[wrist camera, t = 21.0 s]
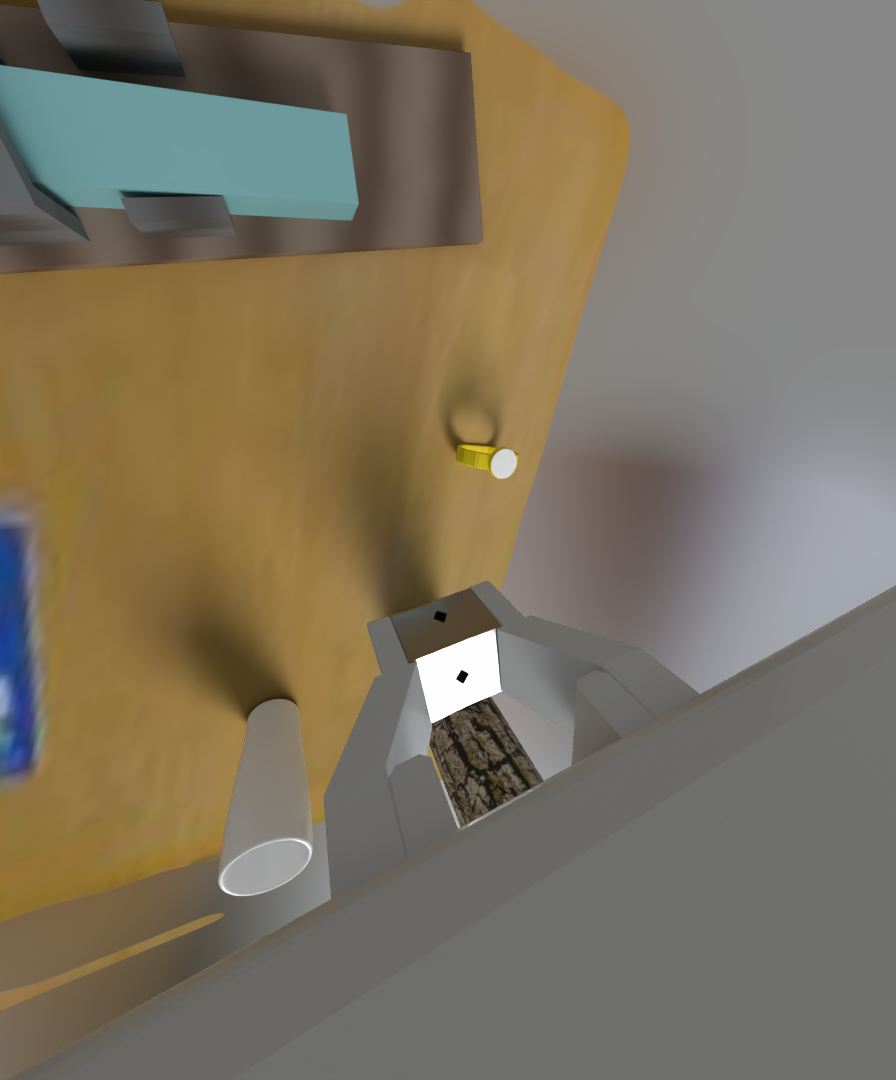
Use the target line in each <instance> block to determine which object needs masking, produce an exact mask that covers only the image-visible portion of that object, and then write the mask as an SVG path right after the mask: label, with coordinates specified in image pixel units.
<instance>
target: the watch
mask: <svg viewBox="0 0 896 1080" xmlns="http://www.w3.org/2000/svg"><path fill="white" fill-rule="evenodd" d="M518 457H519V454H518V453H516V452H513V451H512V450H511V449H508V448H505V447H499V448H497V447H491V446H480V445H467V444H462V445H458V446H457V454H456V461H457V462H459V463H461V464H464V465H467V466H471V467H475V468H476V467H477V468H481V469H487V470H488V471H489V472H490V474H491V475H492V476H494V477H496V478H499V479H503V478H507V477H508V476H510V475H511V474H512V473H513V471H514V470H515V469H516V467H517V462H518Z"/></svg>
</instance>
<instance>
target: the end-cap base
mask: <svg viewBox="0 0 896 1080" xmlns="http://www.w3.org/2000/svg"><path fill="white" fill-rule="evenodd" d="M37 2H38V4H39V7H40V9H39V8H29V7H20V6H10V5H0V65H3V66H10V67H17V68H24V69H32V70H39V71H46V72H53V73H60V74H67V75H74V76H81V77H88V78H95V79H102V80H109V81H116V82H123V83H131V84H138V85H145V86H152V87H159V88H166V89H173V90H180V91H187V92H194V93H201V94H208V95H215V96H222V97H229V98H237V99H244V100H251V101H258V102H265V103H272V104H279V105H286V106H293V107H300V108H307V109H314V110H321V111H328V112H336V113H343V114H347V122H348V129H349V136H350V144H351V151H352V158H353V166H354V173H355V180H356V188H357V195H358V202H359V204H358V207H357V209H356V211H355V214H354V216H353V219H352V221H350V220H330V219H310V218H291V217H271V216H252V215H232V214H230V213H229V211H228V208H227V205H226V203H225V200H224V197H223V196H200V197H141V198H121V200H122V203H123V205H124V208H125V209H114V208H95V207H75V206H60V205H59V204H57V203H56V202H55V201H53V200H52V199H51V198H49V197H48V196H47V195H45V194H44V193H42V192H41V191H40V190H38V189H37V188H36V187H34V186H33V184H32V182H31V180H30V178H29V176H28V174H27V172H26V170H25V168H24V166H23V164H22V162H21V160H20V158H19V156H18V154H17V152H16V150H15V148H14V146H13V144H12V142H11V140H10V138H9V136H8V134H7V132H6V130H5V128H4V126H3V124H2V122H1V120H0V274H5V273H21V272H37V271H53V270H69V269H85V268H101V267H117V266H133V265H149V264H165V263H181V262H197V261H213V260H230V259H246V258H262V257H278V256H294V255H310V254H326V253H342V252H358V251H374V250H390V249H406V248H422V247H438V246H454V245H471V244H478V243H480V242H481V241H483V232H482V217H481V202H480V187H479V172H478V157H477V142H476V127H475V112H474V97H473V82H472V67H471V53H469V52H459V51H449V50H440V49H430V48H420V47H410V46H401V45H391V44H381V43H371V42H361V41H352V40H342V39H332V38H322V37H313V36H303V35H293V34H283V33H274V32H264V31H254V30H244V29H235V28H225V27H215V26H205V25H195V24H186V23H176V22H167V19H166V16H165V13H164V10H163V7H162V4H161V2H154V1H145V0H37Z"/></svg>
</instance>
